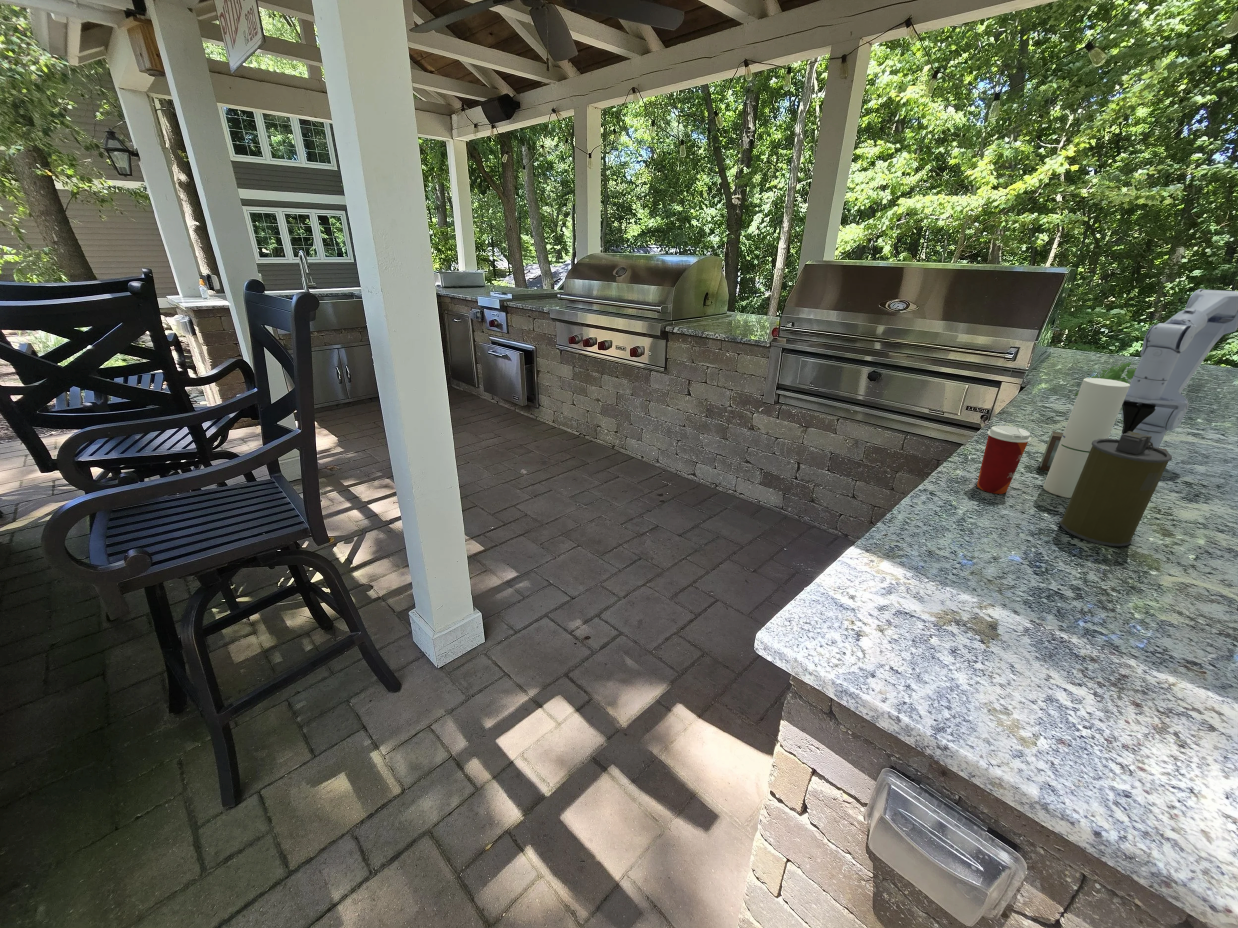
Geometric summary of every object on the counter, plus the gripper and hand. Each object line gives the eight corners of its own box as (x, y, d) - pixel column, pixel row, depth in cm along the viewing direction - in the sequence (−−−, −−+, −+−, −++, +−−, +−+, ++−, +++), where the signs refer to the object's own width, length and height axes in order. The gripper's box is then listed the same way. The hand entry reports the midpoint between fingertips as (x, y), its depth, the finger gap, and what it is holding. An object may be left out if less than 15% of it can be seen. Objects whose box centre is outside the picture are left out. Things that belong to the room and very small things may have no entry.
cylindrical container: (1077, 487, 114) (1121, 380, 104) (1089, 500, 108) (1136, 388, 98) (1039, 482, 116) (1078, 376, 107) (1048, 494, 111) (1090, 384, 101)
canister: (1115, 552, 89) (1164, 449, 82) (1048, 526, 98) (1086, 430, 90) (1142, 537, 94) (1191, 438, 86) (1076, 513, 103) (1114, 421, 95)
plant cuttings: (1129, 436, 164) (1075, 386, 172) (1193, 404, 151) (1132, 350, 159) (1103, 462, 144) (1043, 403, 152) (1174, 427, 132) (1105, 365, 139)
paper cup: (1019, 497, 109) (1040, 437, 104) (980, 494, 111) (999, 435, 105) (1001, 482, 116) (1020, 425, 111) (965, 479, 118) (982, 423, 112)
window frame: (1039, 464, 126) (1052, 430, 122) (1149, 485, 115) (1166, 449, 111) (1039, 469, 123) (1052, 435, 120) (1152, 491, 112) (1170, 454, 108)
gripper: (1110, 375, 115) (1087, 431, 121) (1200, 386, 107) (1171, 445, 113) (1106, 371, 121) (1085, 424, 126) (1192, 380, 112) (1165, 437, 118)
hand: (1125, 433), depth 120 cm, fingers closed
